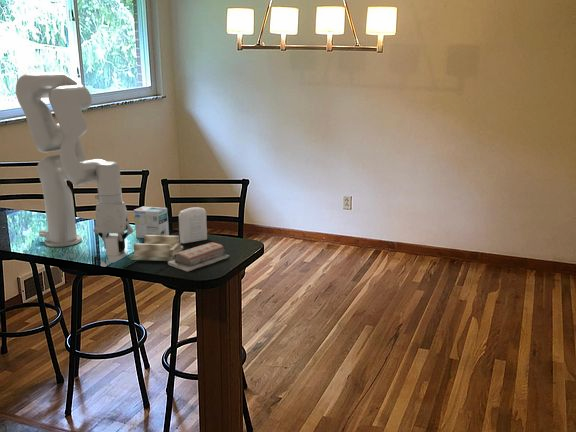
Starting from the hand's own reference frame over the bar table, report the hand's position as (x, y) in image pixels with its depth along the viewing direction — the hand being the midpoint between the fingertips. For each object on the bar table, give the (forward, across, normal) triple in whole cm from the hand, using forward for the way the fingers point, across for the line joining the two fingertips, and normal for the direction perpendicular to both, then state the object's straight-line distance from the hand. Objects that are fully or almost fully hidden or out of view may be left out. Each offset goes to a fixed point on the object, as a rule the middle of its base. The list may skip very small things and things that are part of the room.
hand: (115, 250), depth 204 cm
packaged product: (+1, +31, -6) cm, 32 cm away
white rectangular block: (+1, 0, 0) cm, 1 cm away
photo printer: (+1, +23, +16) cm, 28 cm away
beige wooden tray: (+1, +15, 0) cm, 15 cm away
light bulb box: (+1, +6, +20) cm, 21 cm away
